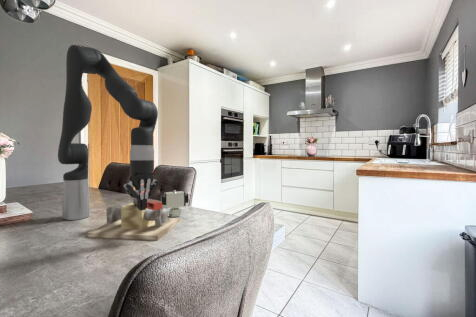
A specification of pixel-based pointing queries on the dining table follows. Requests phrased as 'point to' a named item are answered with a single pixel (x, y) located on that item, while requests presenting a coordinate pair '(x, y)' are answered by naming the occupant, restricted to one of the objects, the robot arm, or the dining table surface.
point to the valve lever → (151, 204)
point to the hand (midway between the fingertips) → (142, 209)
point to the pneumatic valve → (174, 201)
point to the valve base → (134, 233)
